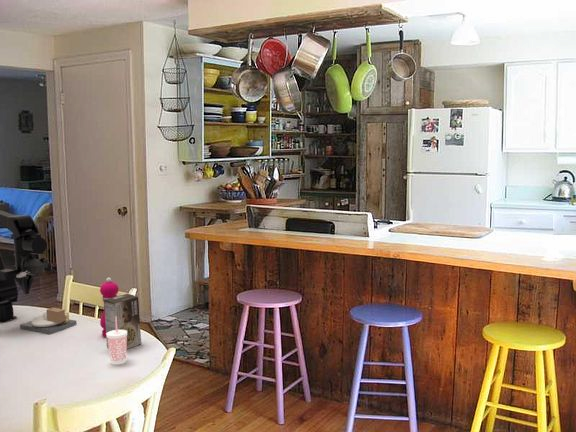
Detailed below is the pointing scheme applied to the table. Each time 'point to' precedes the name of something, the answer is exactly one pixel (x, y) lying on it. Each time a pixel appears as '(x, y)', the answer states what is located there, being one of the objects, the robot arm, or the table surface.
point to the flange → (50, 318)
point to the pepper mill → (108, 292)
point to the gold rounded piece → (66, 318)
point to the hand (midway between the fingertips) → (26, 294)
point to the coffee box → (124, 317)
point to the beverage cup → (117, 345)
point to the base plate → (47, 329)
